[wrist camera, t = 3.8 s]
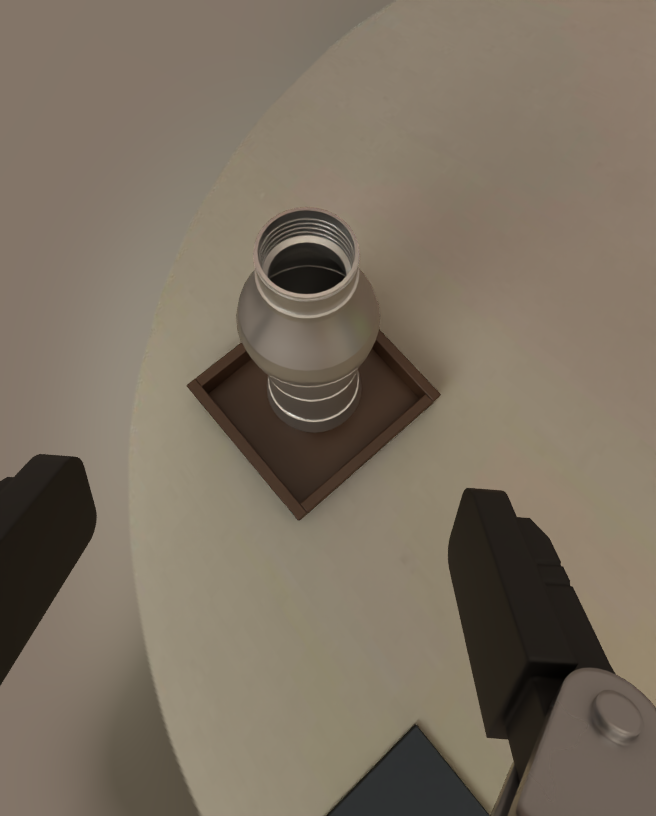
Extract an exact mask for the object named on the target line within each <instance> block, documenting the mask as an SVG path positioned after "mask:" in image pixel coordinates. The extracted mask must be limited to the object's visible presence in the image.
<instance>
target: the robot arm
mask: <svg viewBox="0 0 656 816" xmlns="http://www.w3.org/2000/svg"><path fill="white" fill-rule="evenodd" d="M96 516H97V515H96V508H95V505H94V501H93V497H92V494H91V490H90V486H89V483H88V479H87V475H86V472H85V468H84V465H83V462H82V461H81V460H80V458H78V457H71V456H58V455H45V454H39V455H36V456H34V457H33V458H32V459H31V460H30V461H29V462H28V463H27V464H26V465H25V466H24V467H23V468H22V469H21V470H20V471H19V472H18V473H17V475H15V477H7V478H5V479H3V480H2V481H0V685H1V684H2V682H3V680H4V679H5V677H6V676H7V674H8V672H9V671H10V669H11V667H12V666H13V664H14V663H15V661H16V659H17V658H18V656H19V655H20V653H21V651H22V650H23V648H24V646H25V645H26V643H27V641H28V640H29V638H30V637H31V635H32V633H33V632H34V630H35V629H36V627H37V626H38V624H39V622H40V621H41V619H42V617H43V616H44V614H45V613H46V611H47V609H48V608H49V606H50V605H51V603H52V601H53V600H54V598H55V597H56V595H57V593H58V592H59V590H60V588H61V587H62V585H63V583H64V582H65V580H66V579H67V577H68V575H69V574H70V572H71V570H72V569H73V568H74V566H75V564H76V563H77V561H78V559H79V558H80V556H81V554H82V553H83V551H84V550H85V548H86V546H87V545H88V543H89V542H90V540H91V538H92V536H93V533H94V530H95V525H96ZM448 563H449V570H450V574H451V579H452V583H453V588H454V592H455V597H456V601H457V606H458V610H459V615H460V619H461V624H462V628H463V633H464V637H465V642H466V646H467V651H468V655H469V660H470V664H471V669H472V673H473V678H474V682H475V687H476V691H477V696H478V700H479V705H480V709H481V714H482V718H483V723H484V727H485V732H486V736H487V738H497V739H508V740H509V744H510V748H511V752H512V756H513V760H514V762H513V763H512V765H511V767H510V770H509V772H508V774H507V777H506V779H505V782H504V784H503V787H502V789H501V792H500V794H499V796H498V799H497V801H496V804H495V806H494V809H493V811H492V813H491V816H656V708H655V706H654V705H653V704H652V703H651V701H650V700H649V699H648V698H647V697H646V696H645V695H644V694H643V693H642V692H641V691H640V690H638V689H637V688H636V687H635V686H634V685H632V684H631V683H629V682H628V681H626V680H625V679H623V678H621V677H619V676H618V675H616V674H615V672H614V671H613V669H612V667H611V665H610V664H609V661H608V659H607V657H606V655H605V653H604V651H603V649H602V647H601V645H600V643H599V641H598V639H597V636H596V634H595V632H594V630H593V628H592V626H591V624H590V622H589V620H588V618H587V616H586V613H585V611H584V609H583V607H582V605H581V603H580V601H579V599H578V597H577V595H576V593H575V591H574V588H573V587H571V586H570V580H569V578H568V576H567V574H566V572H565V570H564V568H563V567H561V564H560V563H561V561H560V559H559V557H558V555H557V553H556V551H555V549H554V547H553V545H552V543H551V540H550V539H549V538H548V536H547V535H546V534H545V533H544V532H543V531H542V530H541V529H540V528H539V527H538V526H537V525H536V524H535V523H534V522H533V521H532V520H531V519H530V518H521V517H516V514H515V512H514V510H513V507H512V505H511V502H510V500H509V498H508V496H507V494H506V493H505V492H504V491H501V490H488V489H475V488H466V489H465V490H464V492H463V495H462V498H461V501H460V505H459V508H458V511H457V515H456V518H455V522H454V525H453V529H452V532H451V535H450V539H449V546H448Z"/></svg>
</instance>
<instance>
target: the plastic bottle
mask: <svg viewBox="0 0 656 816" xmlns="http://www.w3.org/2000/svg"><path fill="white" fill-rule="evenodd" d="M253 258H254V265H255V270H254V271H253V272H252V273H251V275H250V276H249V278H248V279H247V281H246V282H245V284H244V287H243V289H242V292H241V294H240V298H239V302H238V307H237V314H236V320H237V330H238V333H239V337H240V340H241V342H242V344H243V346H244V347H245V349H246V351H247V353H248V354H249V355H250V357H251V358H252V359H253V361H254V362H255V363H256V364H257V365H258V366H259V368H261V369H262V370H263V371H264V372H265V373H266V374H267V375H268V380H267V393H268V399H269V402H270V405H271V407H272V409H273V410H274V412H275V413H276V415H277V416H278V417H279V418H280V419H281V420H282V421H284V422H285V423H286V424H287V425H289V426H291V427H293V428H295V429H298V430H302V431H305V432H313V433H316V432H324V431H328V430H331V429H333V428H335V427H337V426H339V425H341V424H342V423H344V422H345V421H346V420H347V419H348V418H349V417H350V416H351V415H352V414H353V413H354V411H355V409H356V408H357V406H358V404H359V400H360V397H361V380H360V374H359V371H358V368H359V367H360V365H361V364H362V363H363V361H364V360H365V359H366V358H367V356H368V354H369V353H370V351H371V349H372V347H373V345H374V343H375V341H376V338H377V335H378V331H379V326H380V311H379V304H378V301H377V298H376V296H375V293H374V290H373V288H372V286H371V284H370V282H369V281H368V279H367V277H366V276H365V274H364V273H363V272H362V271H361V270H360V269H359V258H360V253H359V246H358V241H357V238H356V236H355V234H354V232H353V231H352V229H351V227H350V226H349V225H348V224H347V223H346V222H345V221H344V220H343V219H341V218H340V217H338V216H337V215H336V214H333V213H331V212H329V211H327V210H323V209H319V208H312V207H300V208H294V209H290V210H286V211H284V212H282V213H279V214H277V215H276V216H274V217H273V218H272V219H270V220H269V221H268V222H267V223H266V224H265V225H264V226H263V227H262V229H261V230H260V232H259V233H258V236H257V238H256V241H255V245H254V253H253Z"/></svg>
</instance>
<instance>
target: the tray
mask: <svg viewBox="0 0 656 816" xmlns="http://www.w3.org/2000/svg"><path fill="white" fill-rule="evenodd" d="M358 371H359V374H360V380H361V397H360V400H359V404H358V406H357V408H356V409H355V411H354V413H353V414H352V415H351V416H350V417H349V418H348V419H347V420H346V421H345V422H344V423H342V424H341V425H339V426H337V427H335V428H333V429H331V430H328V431H324V432H316V433H313V432H305V431H302V430H298V429H295V428H293V427H291V426H289V425H287V424H286V423H285V422H284V421H282V420H281V419H280V418H279V417H278V416H277V415H276V413H275V412H274V410H273V409H272V407H271V405H270V402H269V399H268V393H267V380H268V375H267V374H266V373H265V372H264V371H263V370H262V369H261V368H259V366H258V365H257V364H256V363H255V362H254V361H253V359H252V358H251V357H250V355H249V354H248V353H247V351H246V349H245V347H244V346H243V344H242V343H240V344H239V345H238V346H236V347H235V348H234V349H233V350H231V351H230V352H229V353H227V354H226V355H225V356H224V357H222V358H221V359H220V360H219V361H217V362H216V363H215V364H213V365H212V366H211V367H210V368H208V369H207V370H206V371H204V372H203V373H202V374H201V375H199V376H198V377H197V378H196V379H194V380H193V381H191V382H190V383H189V384H188V385H187V387H188V388H189V389H190V391H191V392H192V393H193V394H194V395H195V397H196V398H197V399H198V400H199V401H200V403H201V404H202V405H203V406H204V407H205V409H206V410H207V411H208V412H209V414H210V415H211V416H212V417H213V418H214V420H215V421H216V422H217V423H218V424H219V426H220V427H221V428H222V429H223V430H224V432H225V433H226V434H227V435H228V436H229V438H230V439H231V440H232V441H233V442H234V444H235V445H236V446H237V447H238V448H239V450H240V451H241V452H242V453H243V454H244V456H245V457H246V458H247V459H248V461H249V462H250V463H251V464H252V465H253V467H254V468H255V469H256V470H257V471H258V473H259V474H260V475H261V476H262V477H263V479H264V480H265V481H266V482H267V483H268V485H269V486H270V487H271V488H272V489H273V491H274V492H275V493H276V494H277V495H278V497H279V498H280V499H281V500H282V501H283V503H284V504H285V505H286V506H287V508H288V509H289V510H290V511H291V512H292V514H293V515H294V516H295V517H296V518H297V520H301V519H302V518H303V517H304V516H305V515H307V514H308V513H309V512H310V511H311V510H312V509H313V508H314V507H316V506H317V505H318V504H319V503H320V502H321V501H322V500H324V499H325V498H326V497H327V496H328V495H329V494H330V493H332V492H333V491H334V490H335V489H336V488H337V487H338V486H339V485H341V484H342V483H343V482H344V481H345V480H346V479H347V478H349V477H350V476H351V475H352V474H353V473H354V472H355V471H356V470H358V469H359V468H360V467H361V466H362V465H363V464H364V463H366V462H367V461H368V460H369V459H370V458H371V457H372V456H373V455H375V454H376V453H377V452H378V451H379V450H380V449H381V448H383V447H384V446H385V445H386V444H387V443H388V442H389V441H390V440H392V439H393V438H394V437H395V436H396V435H397V434H398V433H400V432H401V431H402V430H403V429H404V428H405V427H406V426H408V425H409V424H410V423H411V422H412V421H413V420H414V419H415V418H417V417H418V416H419V415H420V414H421V413H422V412H423V411H425V410H426V409H427V408H428V407H429V406H430V405H431V404H432V403H434V401H435V400H436V399H437V398H439V397H440V395H441V394H440V393H439V392H438V391H437V390H436V389H435V388H434V387H433V386H432V385H431V384H430V382H429V381H428V380H427V379H426V378H425V377H424V376H423V375H422V374H421V373H420V372H419V371H418V370H417V369H416V368H415V367H414V366H413V365H412V363H411V362H410V361H409V360H408V359H407V358H406V357H405V356H404V355H403V354H402V353H401V352H400V351H399V350H398V349H397V348H396V347H395V346H394V344H393V343H392V342H391V341H390V340H389V339H388V338H387V337H386V336H385V335H384V334H383V333H382V332H381V331H380V330H379V331H378V335H377V338H376V341H375V343H374V345H373V347H372V349H371V351H370V353H369V354H368V356H367V358H366V359H365V360H364V361H363V363H362V364H361V365H360V367H359V368H358Z"/></svg>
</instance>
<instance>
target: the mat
mask: <svg viewBox="0 0 656 816" xmlns="http://www.w3.org/2000/svg"><path fill="white" fill-rule="evenodd" d="M327 816H490V815H489V814H488V813H487V812H486V811H485V809H484V808H483V807H482V806H481V804H480V803H479V802H478V801H477V799H476V798H475V797H474V796H473V794H472V793H471V792H470V791H469V789H468V788H467V787H466V786H465V785H464V783H463V782H462V781H461V780H460V778H459V777H458V776H457V775H456V773H455V772H454V771H453V770H452V768H451V767H450V766H449V765H448V764H447V762H446V761H445V760H444V759H443V757H442V756H441V755H440V754H439V752H438V751H437V750H436V749H435V747H434V746H433V745H432V744H431V743H430V741H429V740H428V739H427V738H426V736H425V735H424V734H423V733H422V731H421V730H420V729H419V728H418V726H417V725H416V724H415V725H414V726H413V727H412V728H411V729H410V730H409V732H408V733H407V734H406V735H405V736H404V737H403V738H402V739H401V740H400V741H399V742H398V743H397V744H396V745H395V746H394V747H393V748H392V749H391V750H390V751H389V752H388V753H387V754H386V755H385V756H384V757H383V758H382V759H381V760H380V761H379V762H378V763H377V764H376V765H375V767H374V768H373V769H372V770H371V771H370V772H369V773H368V774H367V775H366V776H365V777H364V778H363V779H362V780H361V781H360V782H359V783H358V784H357V785H356V786H355V787H354V788H353V789H352V790H351V791H350V792H349V793H348V794H347V795H346V796H345V797H344V798H343V799H342V800H341V802H340V803H339V804H338V805H337V806H336V807H335V808H334V809H333V810H332V811H331V812H330V813H329V814H328V815H327Z"/></svg>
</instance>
